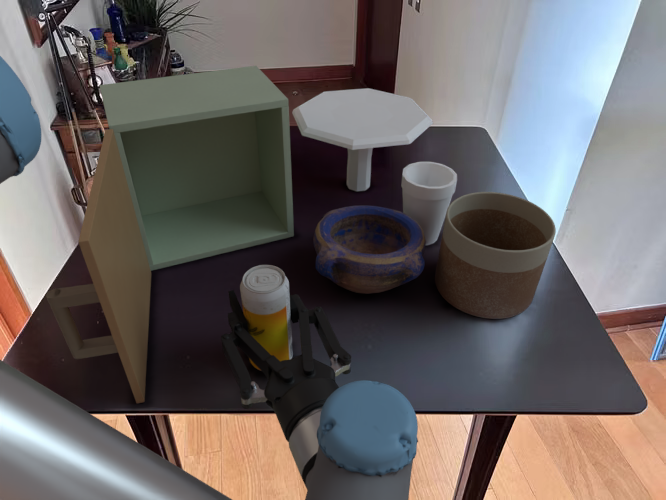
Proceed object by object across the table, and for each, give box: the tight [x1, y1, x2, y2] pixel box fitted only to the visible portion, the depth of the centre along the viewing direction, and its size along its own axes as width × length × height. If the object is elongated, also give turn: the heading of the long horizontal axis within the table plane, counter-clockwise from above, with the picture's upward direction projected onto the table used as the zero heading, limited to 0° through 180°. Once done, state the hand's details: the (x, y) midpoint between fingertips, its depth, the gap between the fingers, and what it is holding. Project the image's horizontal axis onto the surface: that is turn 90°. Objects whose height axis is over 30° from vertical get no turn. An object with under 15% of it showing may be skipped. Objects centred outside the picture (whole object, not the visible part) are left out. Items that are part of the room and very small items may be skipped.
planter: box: [434, 191, 557, 320], centre depth 81 cm, size 16×16×14 cm
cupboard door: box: [45, 128, 152, 404], centre depth 68 cm, size 7×26×26 cm, turn 14°
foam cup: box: [400, 161, 458, 246], centre depth 93 cm, size 10×9×13 cm
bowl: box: [312, 204, 426, 295], centre depth 84 cm, size 18×18×10 cm
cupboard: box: [99, 65, 295, 272], centre depth 90 cm, size 17×26×26 cm, turn 114°
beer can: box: [239, 264, 294, 372], centre depth 68 cm, size 6×6×15 cm
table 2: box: [291, 87, 434, 192], centre depth 106 cm, size 28×28×17 cm
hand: (256, 291), depth 71 cm, fingers closed on beer can, 6 cm apart
